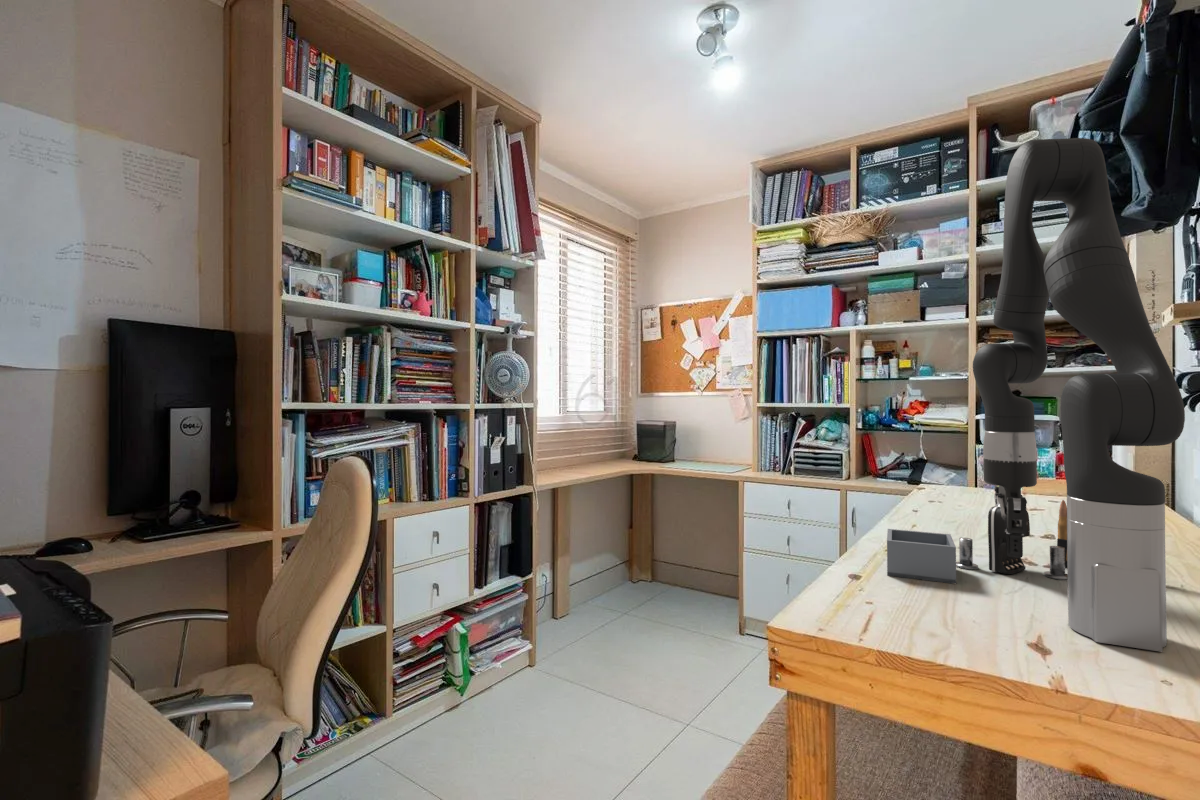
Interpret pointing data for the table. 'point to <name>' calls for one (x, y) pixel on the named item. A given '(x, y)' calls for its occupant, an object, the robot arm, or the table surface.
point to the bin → (921, 555)
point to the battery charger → (1002, 544)
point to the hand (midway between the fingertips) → (1010, 551)
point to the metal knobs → (1055, 572)
